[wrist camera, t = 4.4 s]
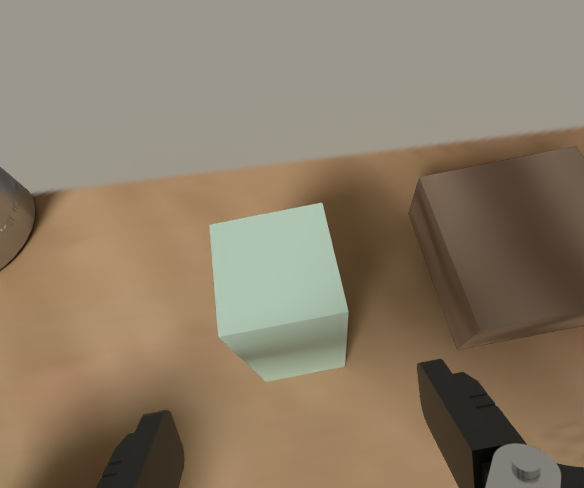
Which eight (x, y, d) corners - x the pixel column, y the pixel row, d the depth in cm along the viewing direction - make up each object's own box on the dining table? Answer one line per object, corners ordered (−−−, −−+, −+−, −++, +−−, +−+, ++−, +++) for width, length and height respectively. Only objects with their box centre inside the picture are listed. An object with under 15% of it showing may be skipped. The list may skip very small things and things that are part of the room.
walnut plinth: (457, 349, 22) (479, 330, 19) (408, 213, 26) (419, 177, 23) (619, 318, 22) (673, 293, 18) (544, 186, 26) (576, 145, 23)
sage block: (265, 381, 23) (218, 337, 14) (256, 306, 25) (209, 224, 16) (344, 366, 22) (348, 311, 14) (328, 291, 25) (322, 202, 16)
